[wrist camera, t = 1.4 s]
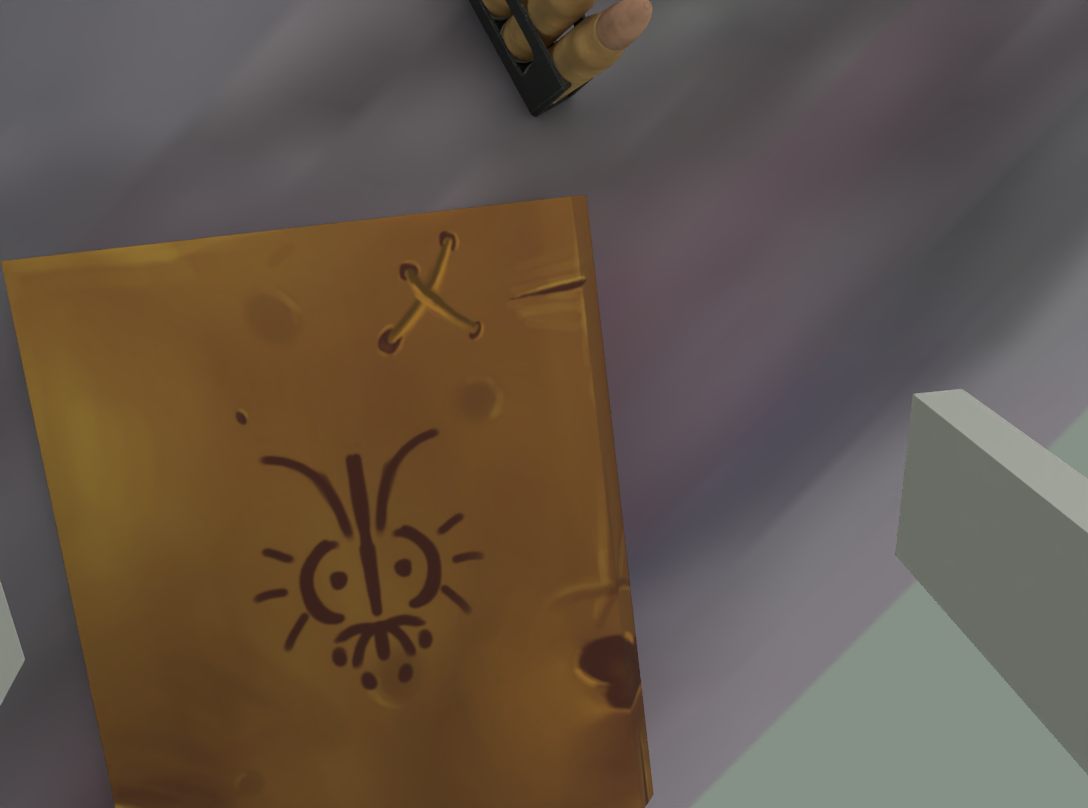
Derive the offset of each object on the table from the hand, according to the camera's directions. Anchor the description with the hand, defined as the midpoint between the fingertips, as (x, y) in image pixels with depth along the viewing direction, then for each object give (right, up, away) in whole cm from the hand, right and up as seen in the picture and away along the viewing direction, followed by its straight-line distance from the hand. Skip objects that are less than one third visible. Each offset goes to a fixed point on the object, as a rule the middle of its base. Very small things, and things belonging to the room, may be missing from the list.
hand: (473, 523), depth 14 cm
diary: (-6, -3, +25) cm, 26 cm away
